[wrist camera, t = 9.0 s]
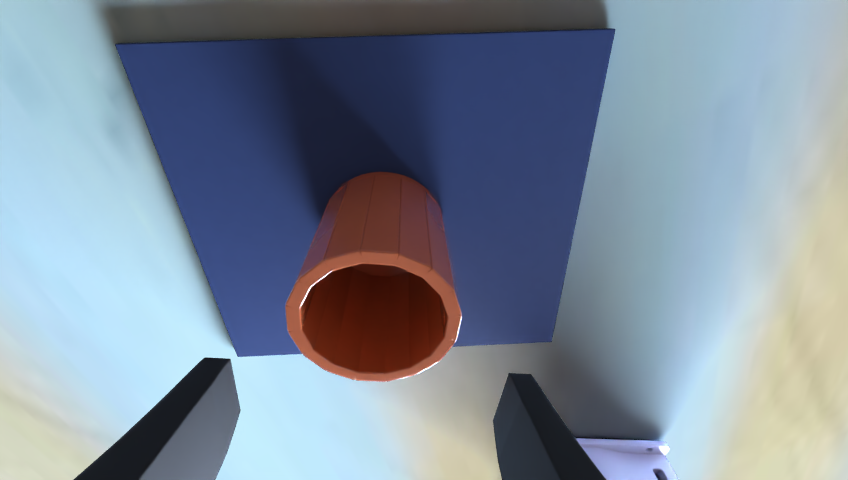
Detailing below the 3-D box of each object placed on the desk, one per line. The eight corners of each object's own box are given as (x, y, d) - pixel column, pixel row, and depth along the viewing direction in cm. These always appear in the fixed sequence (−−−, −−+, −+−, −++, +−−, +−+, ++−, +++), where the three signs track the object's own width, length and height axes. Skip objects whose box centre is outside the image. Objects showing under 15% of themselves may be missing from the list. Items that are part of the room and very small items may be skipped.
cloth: (612, 28, 13) (615, 28, 13) (549, 338, 21) (551, 342, 21) (119, 43, 13) (114, 43, 13) (239, 352, 21) (237, 357, 21)
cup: (452, 177, 16) (475, 258, 11) (435, 280, 18) (447, 385, 13) (321, 165, 15) (278, 244, 10) (324, 273, 18) (291, 378, 13)
